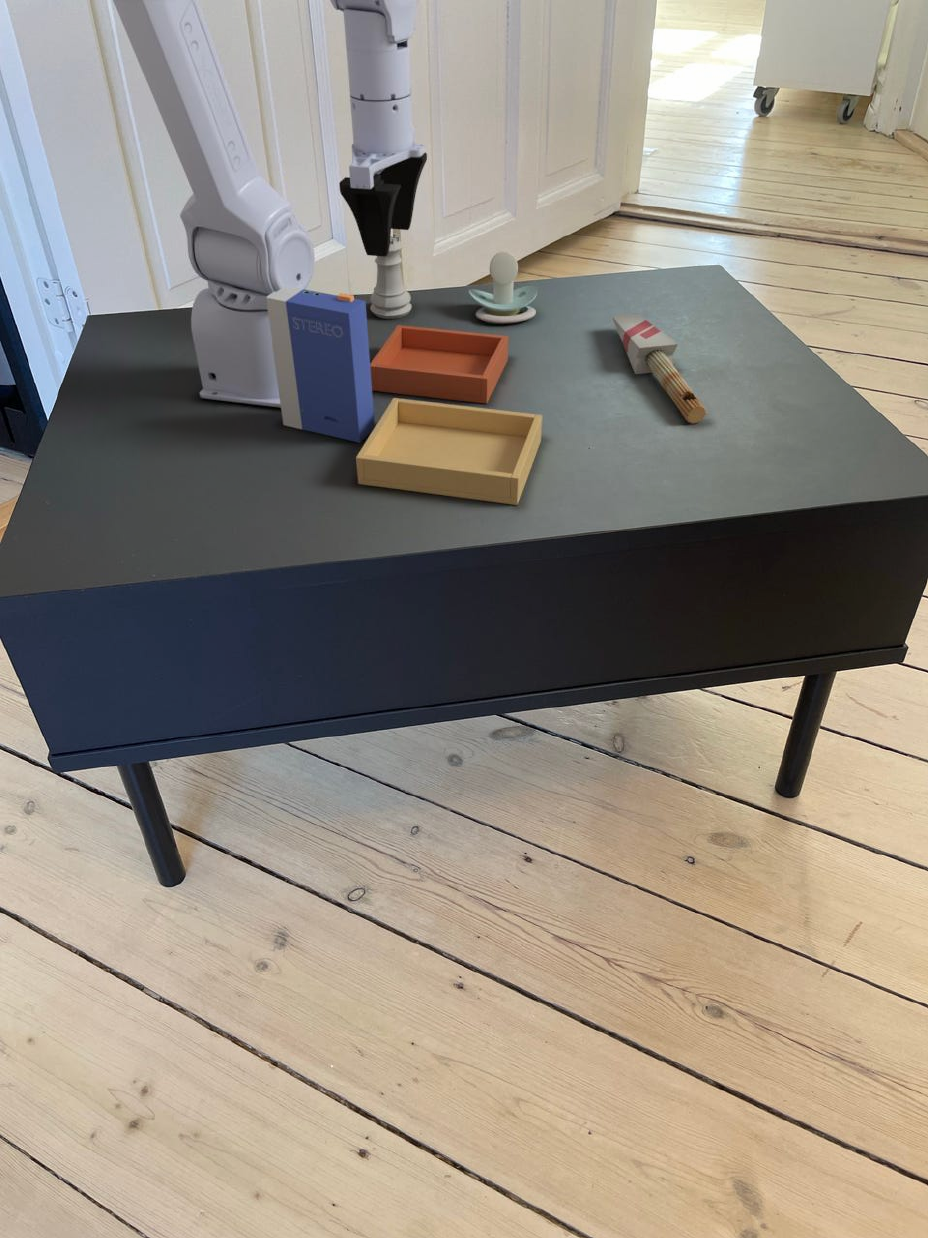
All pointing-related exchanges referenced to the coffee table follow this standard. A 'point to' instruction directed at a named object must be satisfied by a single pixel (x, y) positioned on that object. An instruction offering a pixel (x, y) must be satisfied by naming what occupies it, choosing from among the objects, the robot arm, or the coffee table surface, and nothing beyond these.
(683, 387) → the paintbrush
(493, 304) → the pacifier
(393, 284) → the rook chess piece
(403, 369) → the terracotta tray
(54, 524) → the coffee table surface
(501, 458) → the birch tray
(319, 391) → the walkman
